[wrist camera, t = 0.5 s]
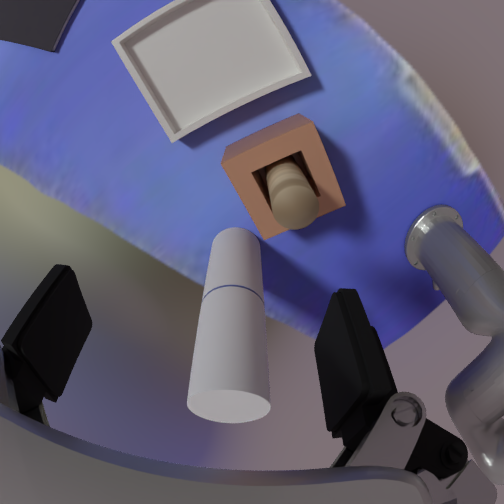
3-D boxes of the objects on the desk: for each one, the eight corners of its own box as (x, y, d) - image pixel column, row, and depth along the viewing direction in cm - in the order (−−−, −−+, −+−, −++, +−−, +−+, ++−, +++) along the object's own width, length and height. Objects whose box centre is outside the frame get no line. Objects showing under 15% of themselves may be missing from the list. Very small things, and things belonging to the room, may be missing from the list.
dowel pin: (300, 172, 35) (325, 218, 24) (272, 185, 36) (283, 236, 25) (287, 145, 33) (309, 178, 22) (258, 158, 34) (264, 198, 23)
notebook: (-13, 36, 18) (57, 52, 24) (-19, 36, 17) (51, 51, 23) (17, -27, 12) (98, -24, 18) (11, -28, 11) (93, -26, 17)
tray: (307, 76, 29) (311, 75, 27) (176, 139, 33) (172, 143, 31) (247, -25, 21) (247, -32, 19) (119, 43, 25) (111, 41, 23)
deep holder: (327, 180, 37) (345, 205, 30) (260, 210, 39) (263, 240, 32) (298, 113, 32) (312, 121, 25) (226, 146, 34) (220, 163, 27)
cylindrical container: (260, 226, 40) (272, 388, 20) (260, 267, 44) (269, 422, 24) (209, 228, 40) (178, 387, 20) (214, 268, 44) (195, 421, 24)
